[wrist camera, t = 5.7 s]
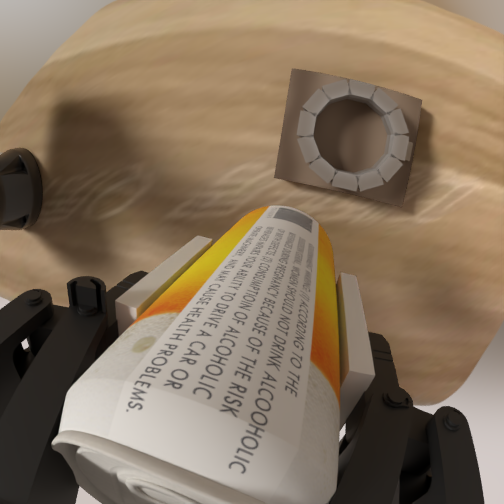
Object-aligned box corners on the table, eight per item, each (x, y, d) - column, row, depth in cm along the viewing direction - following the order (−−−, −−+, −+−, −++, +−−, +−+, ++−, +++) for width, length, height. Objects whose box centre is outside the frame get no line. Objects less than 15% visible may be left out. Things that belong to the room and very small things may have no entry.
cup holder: (277, 175, 33) (269, 181, 28) (293, 73, 29) (289, 60, 24) (396, 202, 31) (409, 213, 26) (415, 102, 27) (431, 96, 22)
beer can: (223, 286, 19) (80, 497, 5) (238, 192, 17) (-8, 359, 3) (317, 310, 18) (280, 568, 4) (344, 217, 16) (403, 509, 2)
